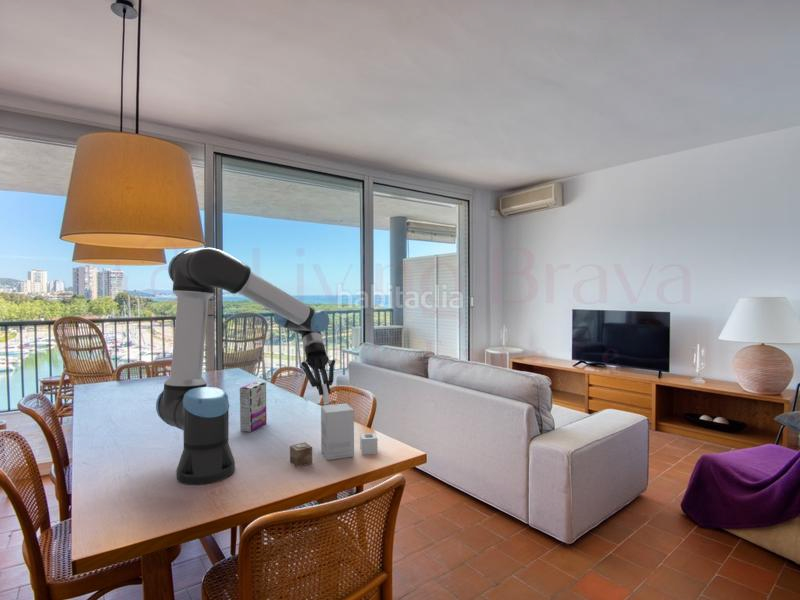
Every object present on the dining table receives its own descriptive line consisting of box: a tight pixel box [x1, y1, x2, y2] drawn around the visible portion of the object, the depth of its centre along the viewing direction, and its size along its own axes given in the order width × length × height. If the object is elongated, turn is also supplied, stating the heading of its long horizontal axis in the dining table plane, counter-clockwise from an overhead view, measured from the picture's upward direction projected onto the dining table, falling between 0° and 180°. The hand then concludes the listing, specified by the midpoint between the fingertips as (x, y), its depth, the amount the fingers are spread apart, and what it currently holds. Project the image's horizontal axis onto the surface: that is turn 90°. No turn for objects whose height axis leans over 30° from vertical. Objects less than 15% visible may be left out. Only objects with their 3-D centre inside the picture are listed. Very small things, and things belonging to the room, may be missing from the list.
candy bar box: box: [239, 381, 267, 433], centre depth 162 cm, size 11×5×16 cm, turn 168°
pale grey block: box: [359, 433, 378, 455], centre depth 139 cm, size 5×5×5 cm
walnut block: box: [289, 442, 313, 468], centre depth 129 cm, size 5×5×5 cm
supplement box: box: [320, 403, 355, 461], centre depth 136 cm, size 9×9×15 cm
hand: (327, 402), depth 146 cm, fingers closed
